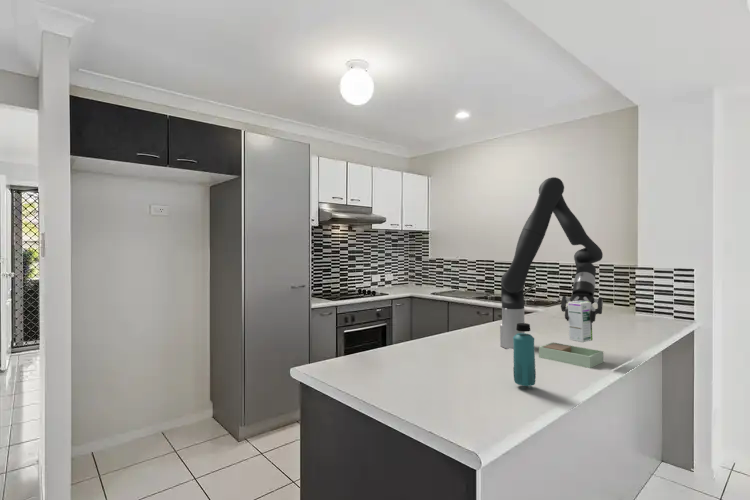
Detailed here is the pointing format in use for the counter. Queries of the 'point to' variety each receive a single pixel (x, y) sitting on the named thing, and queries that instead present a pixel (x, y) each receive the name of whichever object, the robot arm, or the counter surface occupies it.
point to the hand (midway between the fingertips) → (579, 320)
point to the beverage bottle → (524, 356)
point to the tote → (573, 355)
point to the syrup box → (580, 321)
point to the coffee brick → (559, 347)
